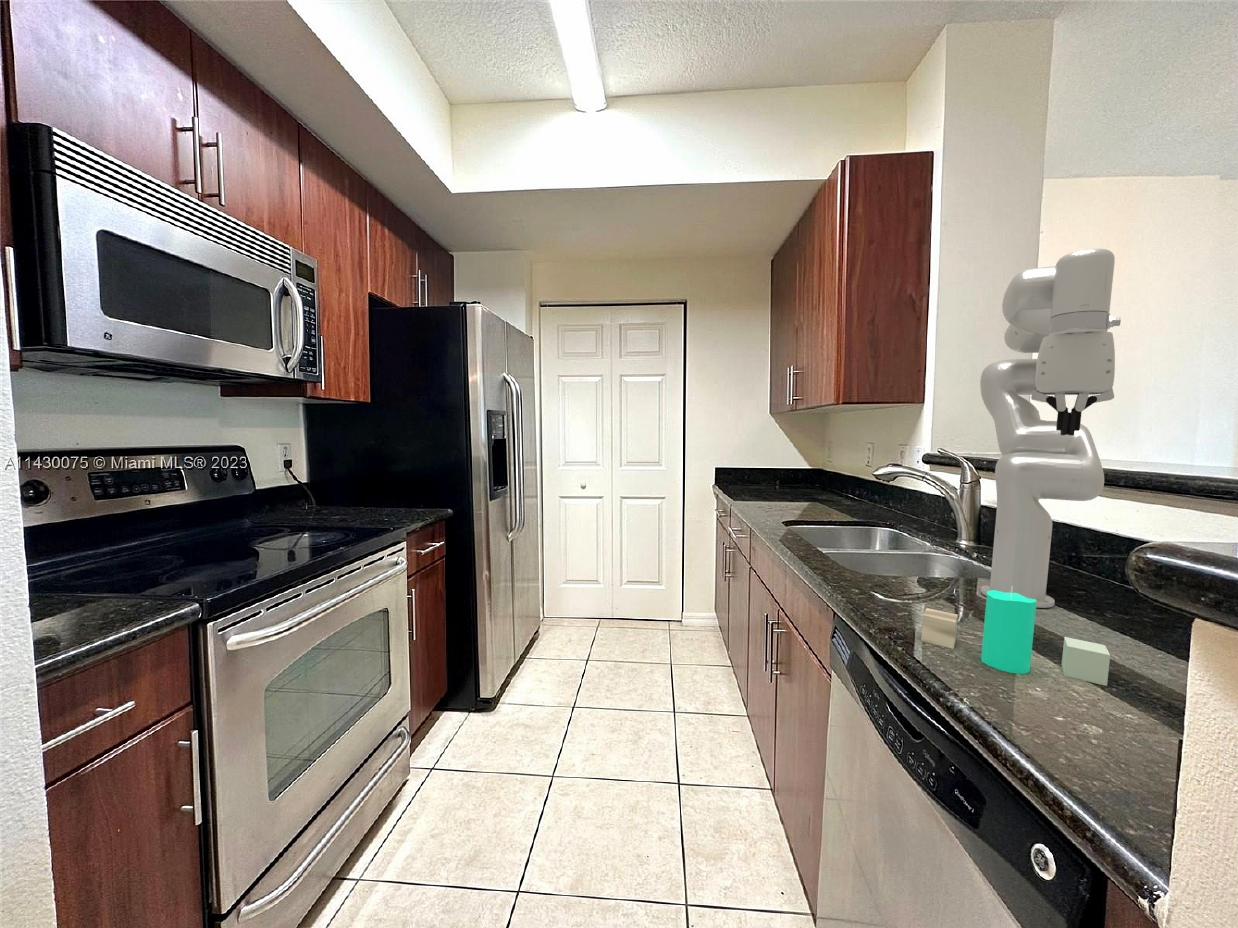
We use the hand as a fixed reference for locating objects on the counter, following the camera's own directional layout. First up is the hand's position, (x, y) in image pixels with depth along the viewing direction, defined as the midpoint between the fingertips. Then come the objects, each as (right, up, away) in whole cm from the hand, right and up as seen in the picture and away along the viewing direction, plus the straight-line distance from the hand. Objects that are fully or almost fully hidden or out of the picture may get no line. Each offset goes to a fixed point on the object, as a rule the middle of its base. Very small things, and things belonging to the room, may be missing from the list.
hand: (1067, 434), depth 89 cm
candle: (-19, -35, -11) cm, 42 cm away
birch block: (-24, -35, -3) cm, 42 cm away
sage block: (-10, -36, -14) cm, 40 cm away
